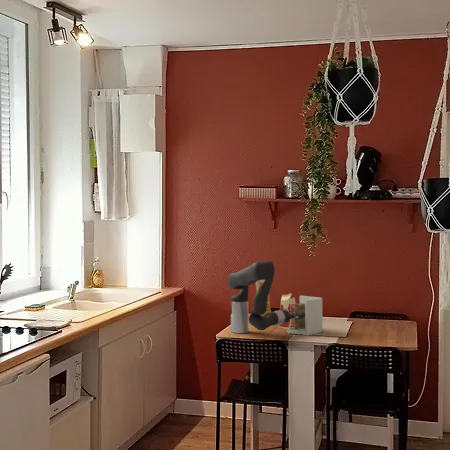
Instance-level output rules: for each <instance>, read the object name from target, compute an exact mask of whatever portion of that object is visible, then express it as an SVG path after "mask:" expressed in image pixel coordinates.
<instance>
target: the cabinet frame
mask: <svg viewBox="0 0 450 450" xmlns="http://www.w3.org/2000/svg"><path fill="white" fill-rule="evenodd" d="M300 303H303V304H305V328H304V329H299V330H295V327H292V328H289V329H286V330H285V331H286V333H288V332H292V333H291V334H294V333H298V334H297V335H300V334H302V335H301V336H306V335H307V336H306V337H308V336H312V334H313V335H317V334H320V333H321V332H322V333H323V332H324V330H323V329H324V328H323V326H324V325H323V298H322V297H319V296H318V297H317V296H308V295H307V296H306V295H299V304H300Z"/></svg>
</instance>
